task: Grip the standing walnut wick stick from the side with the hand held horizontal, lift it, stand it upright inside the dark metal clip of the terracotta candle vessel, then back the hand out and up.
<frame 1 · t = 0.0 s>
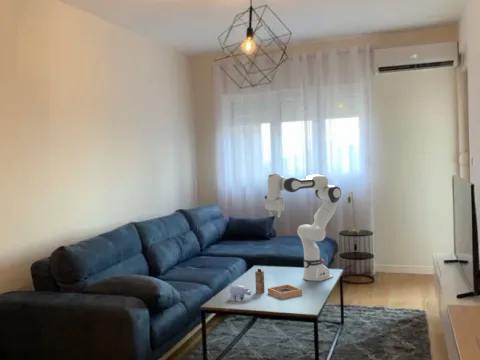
hand: (274, 216, 335), 48 cm above the table, fingers open, 8 cm apart
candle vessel: (285, 294, 314), on the table
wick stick: (260, 292, 320), on the table
hippopotamus toy: (240, 299, 307), on the table
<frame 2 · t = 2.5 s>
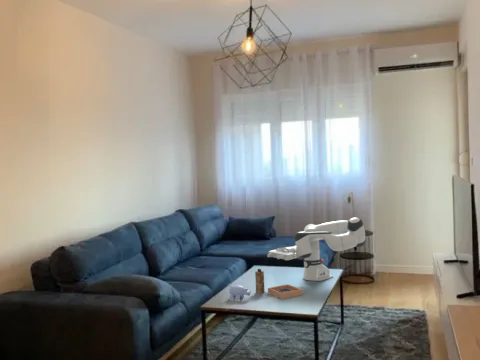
hand: (272, 256, 327), 22 cm above the table, fingers open, 8 cm apart
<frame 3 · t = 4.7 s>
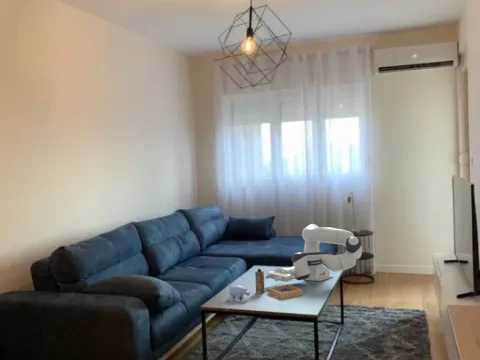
hand: (270, 278, 325), 8 cm above the table, fingers open, 8 cm apart
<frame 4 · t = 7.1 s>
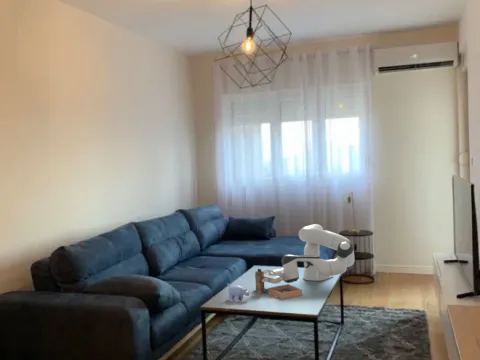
hand: (258, 280, 319), 8 cm above the table, fingers closed on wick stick, 4 cm apart
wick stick: (260, 292, 320), on the table, touching gripper
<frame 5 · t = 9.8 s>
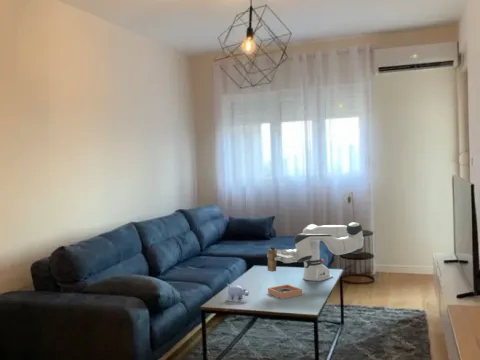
hand: (271, 258, 315), 24 cm above the table, fingers closed on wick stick, 4 cm apart
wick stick: (271, 270, 315), point 15 cm above the table, touching gripper
when the fingers open (11 cm above the table, at t = 12.8 s): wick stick drops 1 cm, resting on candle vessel.
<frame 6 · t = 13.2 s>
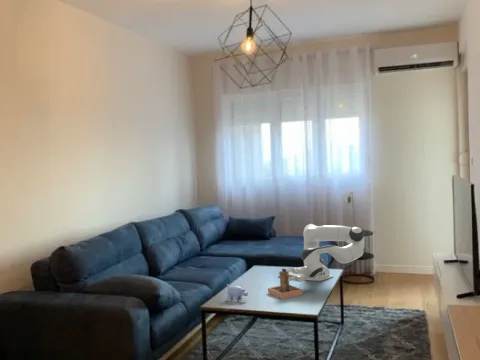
hand: (283, 278, 313), 11 cm above the table, fingers open, 8 cm apart
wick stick: (284, 292, 314), point 1 cm above the table, touching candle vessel
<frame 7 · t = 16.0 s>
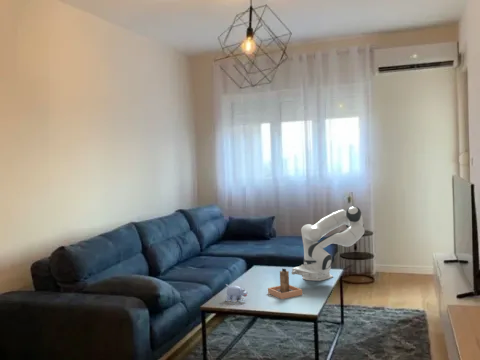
hand: (297, 274, 321), 11 cm above the table, fingers open, 8 cm apart
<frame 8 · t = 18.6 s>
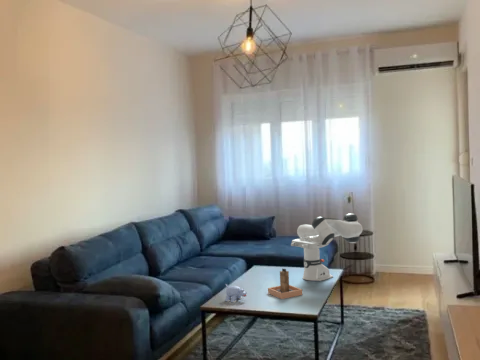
hand: (296, 245, 320), 30 cm above the table, fingers open, 8 cm apart
at the end: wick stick 0.1 cm off-centre on the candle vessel, point 1.0 cm above the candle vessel's base; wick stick tilted 0°; the gripper is holding nothing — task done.
